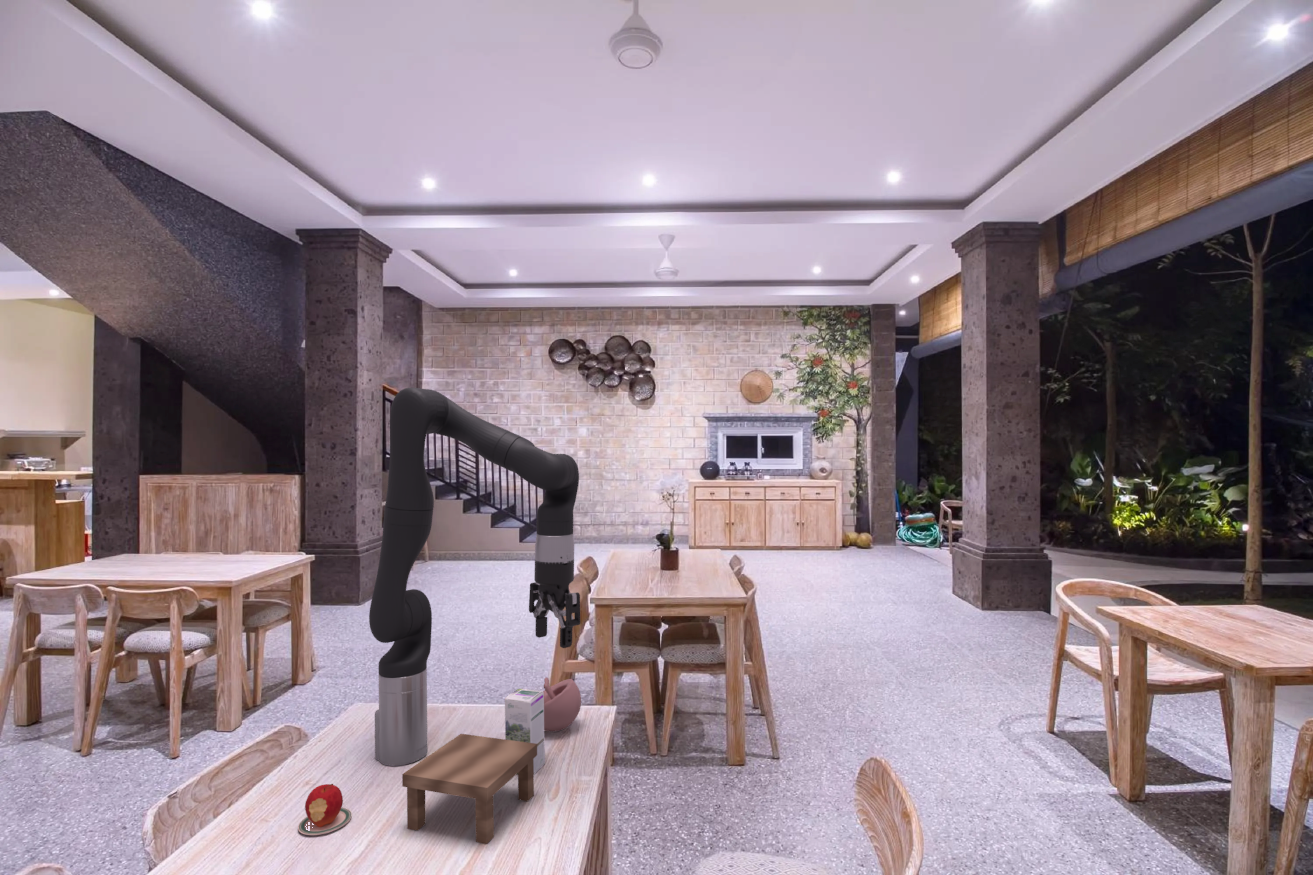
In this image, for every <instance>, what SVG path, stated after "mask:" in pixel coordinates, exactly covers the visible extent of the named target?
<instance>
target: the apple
mask: <svg viewBox="0 0 1313 875" xmlns="http://www.w3.org/2000/svg"><path fill="white" fill-rule="evenodd" d="M343 800H344V797H343V794H342V791H341V789H340V788H339V786H337V785H335V784H334V783H331V784H330V783H329V784H328V783H327V784H326V783H325V784H321V785H318V786H317V787H314V788H313V789H312V790H311V792H310V793H308V796H307V798H306V800H305V803H304V810H305V814H306V817H304V818H303V819H302V820H301V821H300V822H299V823H298V825H297V830H298V832H299V833H301V834H303V835H306V836H319V835H325V834H328V833H331V832H334V831H337V830H339V829H341V828H342V827H344V826H346V824H348V823H349V822H350V820H351V819H352V816H353V815H352V814H353V813H352V811H351V810H350V809H348V808H346V807H343V805H344V804H343V802H344V801H343ZM308 822H310V825H308ZM312 823H313V824H314V825H312ZM306 824H307V826H306ZM305 826H306V827H307V829H308V826H310V831H308V830H306V827H305ZM312 827H313V828H312Z"/></svg>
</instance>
